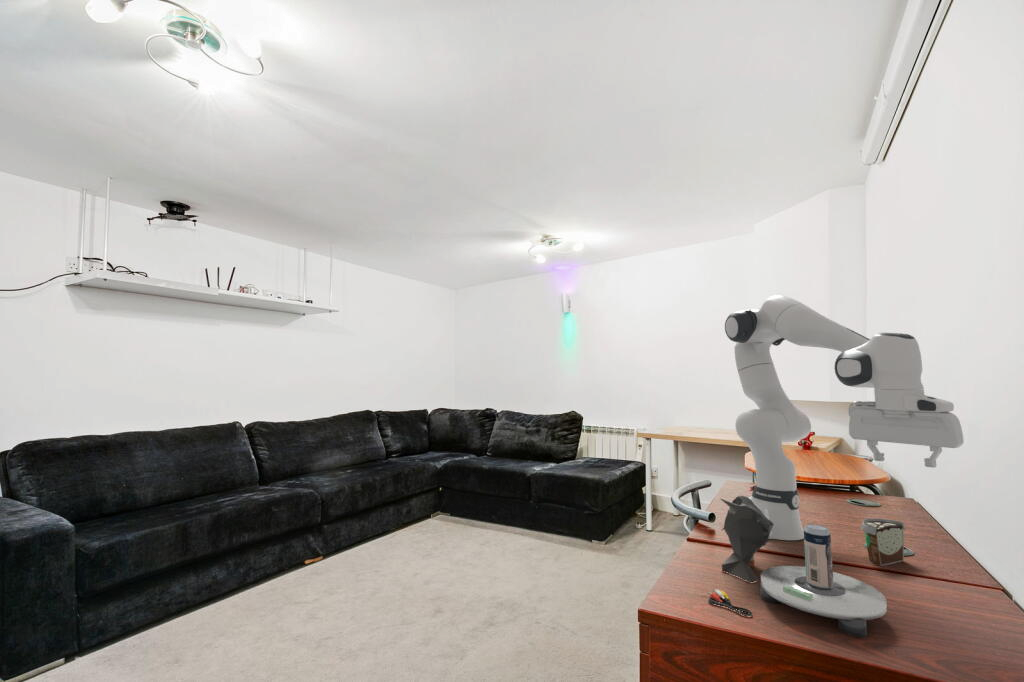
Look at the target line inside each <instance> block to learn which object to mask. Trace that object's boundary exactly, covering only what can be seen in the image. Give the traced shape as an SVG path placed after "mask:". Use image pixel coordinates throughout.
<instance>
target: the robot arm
mask: <svg viewBox="0 0 1024 682" xmlns="http://www.w3.org/2000/svg"><path fill="white" fill-rule="evenodd" d="M724 332H725V335H726V337H727V338H728V339H729V340H730V341H732V342H734V343H735V345H734V357H735V358H734V360H735V364H736V369H737V373H738V377H739V379H740V384H741V387H742V390H743V393H744V395H745V396H746V397H747V398H748V399H750V400H751V401H752V402H754V403H755V405H757V407H758V408H754V409H750V410H748V411H747V410H746V411H743V412H741V413H740V414H739V415H738V416H737V418H736V420H735V432H736V434H737V435H738V437H739V438H740V439H741V440H742V441H743V442H744V443H746V445H747V446H748V448H749V450H750V451H751V454H752V457H753V459H754V466H755V479H756V484H755V485H753V486H751V487H749V489H748V491H749V492H752V493H751V496H749V497H748V498H749V499H751V500H752V502H753V503H754V505H756V506H757V508H758V509H760V510H761V512H762V513H763V514H764V516H765V517H766V518H767V519H769V520H770V521H771V522H772V523H773V524H774V525H773V527H772V529H771V532H770V535H769V538H768V540H772V539H773V540H781V541H800V540H804V529H803V527H802V526H803V525H802V521H801V517H800V516H801V515H800V512H799V511H800V510H799V508H800V498H799V489H798V488H797V474H796V473H797V472H796V465H795V463H794V461H793V460H792V459H791V458H789V457H787V454H786V453H785V451H784V449H783V444H784V443H795V442H798V441H801V440H804V439H806V438H807V437H808V436H809V434H810V432H811V430H812V425H811V421H810V418H809V417H808V415H806V413H804V412H803V411H801V410H800V409H799V408H797V407H796V405H795V404H794V403H793V402H792V400H790V398H789V396H788V395H787V394H786V393H785V391H784V389H783V387H782V385H781V382H780V379H779V377H778V374H777V373H778V372H777V371H776V367H775V364H774V362H773V359H772V357H771V353H770V350H771V346H780V345H781V344H782V343H783V342H784V341H787V342H790V343H791V344H794V345H797V346H800V347H802V346H803V347H809V348H810V347H811V348H821V349H829V350H834V351H838V352H840V354H838V356H837V357H836V360H835V362H834V373H835V376H836V377H837V379H838V381H839V382H840V383H842V384H843V385H845V386H847V387H851V388H867V389H868V388H869V389H870V388H871V389H873V390H874V391H873V392H874V393H873V394H874V401H862V400H861V401H859V400H857V401H855V400H854V402H852V403H850V404H849V405H848V408H847V409H848V410H847V411H848V416H849V423H848V434H849V436H850V438H852V440H861V441H866V445H867V448H869V450H870V451H871V453H872V454H873V460H874V461H876V462H877V461H878V462H884V461H885V452H880V450H879V448H878V447H877V446H879V442H882V443H893V444H901V445H903V444H904V445H914V446H923V447H924V446H925V447H929V451H930V452H932V454H931V455H930V456H929V457H926V458H924V459H923V461H924V467H926V468H937V459H938V457H939V456H940V455H941V453H942V452H943V448H945V449H946V448H948V449H959V448H960V447H961V446H962V445H963V444H964V434H963V429H962V425H961V423H960V420H959V418H958V416H957V415H956V414H955V413H953V411H954V410H955V409H954V408H955V406H954V403H953V402H952V401H949V400H945V399H941V398H937V397H933V396H929V395H927V394H925V388H924V385H923V383H922V379H921V378H922V373H923V363H922V355H921V349H920V345H919V344H918V341H917V339H916V338H915V337H914V336H913V335H911V334H907V333H899V332H878V333H876V334H874V335H873V336H872V337H871V338H868V337H866V336H864V335H863V334H860V333H858V332H856V331H854V330H852V329H850V328H848V327H846V326H843V325H841V324H840V323H838V322H836V321H834V320H832V319H830V318H828V317H826V316H824V315H822V314H821V313H820V312H818V311H816V310H815V309H812V308H811V307H809V306H808V305H806V304H804V303H802V302H800V301H799V300H796V299H794V298H792V297H790V296H786V295H781V294H778V295H773V296H769V297H768V298H767V299H766V300H765V301H764V302H763V303H762V305H761V307H760V308H757V309H744V310H743V309H742V310H739V311H734V312H732V313H730V314H729V315H728V316H727V318H726V319H725V322H724Z"/></svg>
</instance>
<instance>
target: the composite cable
mask: <svg viewBox="0 0 1024 682" xmlns="http://www.w3.org/2000/svg"><path fill="white" fill-rule="evenodd" d="M712 590H713V592H710V591H707V592H706V593H707V594H708V595H709V597H708V604H710V603H711V604H710V605H713V604H716V605H720V606H725V607H728V608H730V609H732V610H735V611H736V612H738V613H740V614H742V615H744V616H752V617H753V611H751V610H749V609H747V608H745V607H741V606H737V605H736V606H735V605H733V604H732V602H731V600H730V598H729V595H728V594H727V593H726V592H724V591H723V590H720V589H716V588H712ZM719 602H720V603H719ZM716 605H715V606H716ZM736 609H737V610H736ZM738 610H740V611H743V612H746V613H749V614H746V613H742V612H739V611H738Z"/></svg>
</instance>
